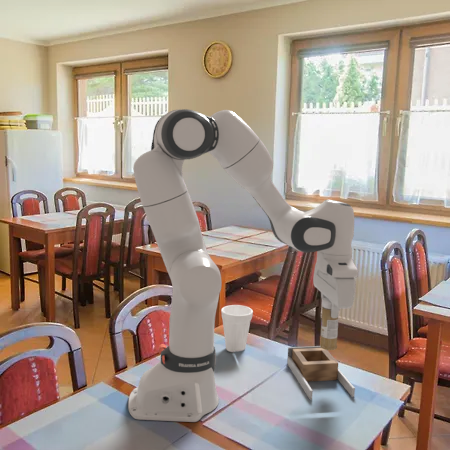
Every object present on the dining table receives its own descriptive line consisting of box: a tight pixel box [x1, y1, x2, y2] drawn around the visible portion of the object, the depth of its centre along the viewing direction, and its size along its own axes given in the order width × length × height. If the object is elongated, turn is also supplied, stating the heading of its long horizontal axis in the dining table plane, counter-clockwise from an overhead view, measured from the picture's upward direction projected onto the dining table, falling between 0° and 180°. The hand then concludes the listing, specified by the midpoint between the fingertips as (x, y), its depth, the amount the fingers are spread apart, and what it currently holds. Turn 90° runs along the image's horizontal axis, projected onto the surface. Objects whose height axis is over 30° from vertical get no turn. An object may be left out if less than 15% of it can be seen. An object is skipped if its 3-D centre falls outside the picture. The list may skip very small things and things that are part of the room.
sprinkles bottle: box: [319, 297, 339, 351], centre depth 128 cm, size 5×5×14 cm
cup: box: [220, 304, 254, 353], centre depth 152 cm, size 10×10×13 cm
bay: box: [286, 345, 356, 401], centre depth 133 cm, size 12×20×6 cm, turn 9°
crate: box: [292, 348, 339, 383], centre depth 137 cm, size 10×10×5 cm
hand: (329, 313), depth 128 cm, fingers closed on sprinkles bottle, 4 cm apart
